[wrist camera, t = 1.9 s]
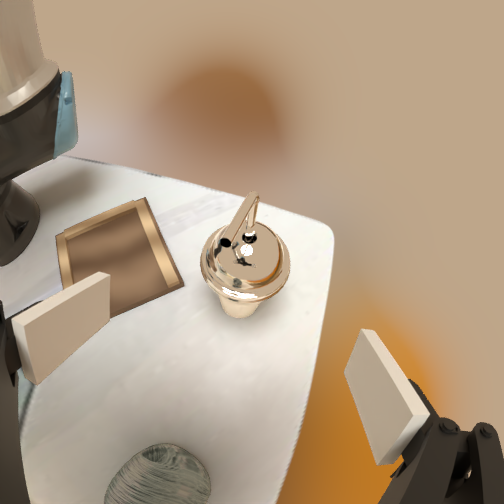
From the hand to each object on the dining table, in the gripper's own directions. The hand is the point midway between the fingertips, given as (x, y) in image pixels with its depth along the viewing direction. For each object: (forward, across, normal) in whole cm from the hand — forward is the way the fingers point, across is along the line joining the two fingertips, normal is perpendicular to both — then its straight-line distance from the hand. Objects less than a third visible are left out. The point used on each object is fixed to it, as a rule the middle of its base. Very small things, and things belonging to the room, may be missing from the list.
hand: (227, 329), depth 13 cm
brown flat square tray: (+22, -19, -6) cm, 29 cm away
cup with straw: (+21, 0, -7) cm, 22 cm away
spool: (+3, -4, -25) cm, 25 cm away
